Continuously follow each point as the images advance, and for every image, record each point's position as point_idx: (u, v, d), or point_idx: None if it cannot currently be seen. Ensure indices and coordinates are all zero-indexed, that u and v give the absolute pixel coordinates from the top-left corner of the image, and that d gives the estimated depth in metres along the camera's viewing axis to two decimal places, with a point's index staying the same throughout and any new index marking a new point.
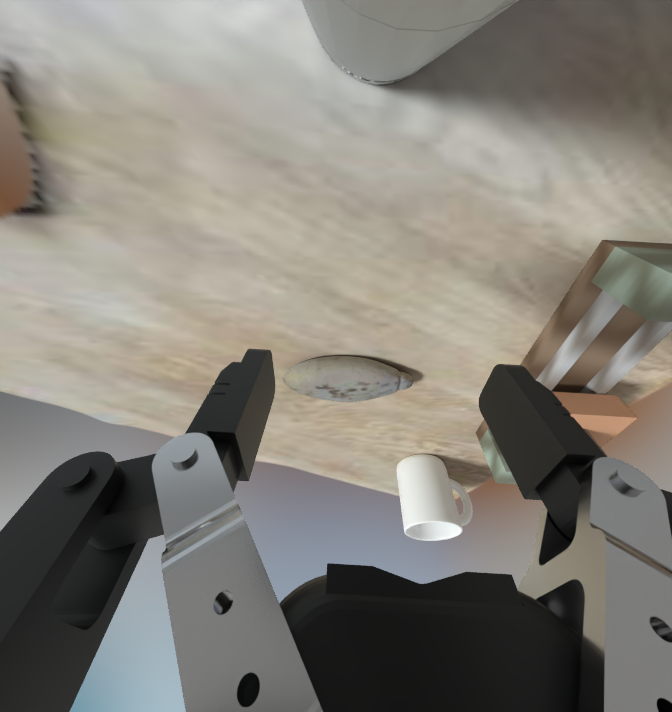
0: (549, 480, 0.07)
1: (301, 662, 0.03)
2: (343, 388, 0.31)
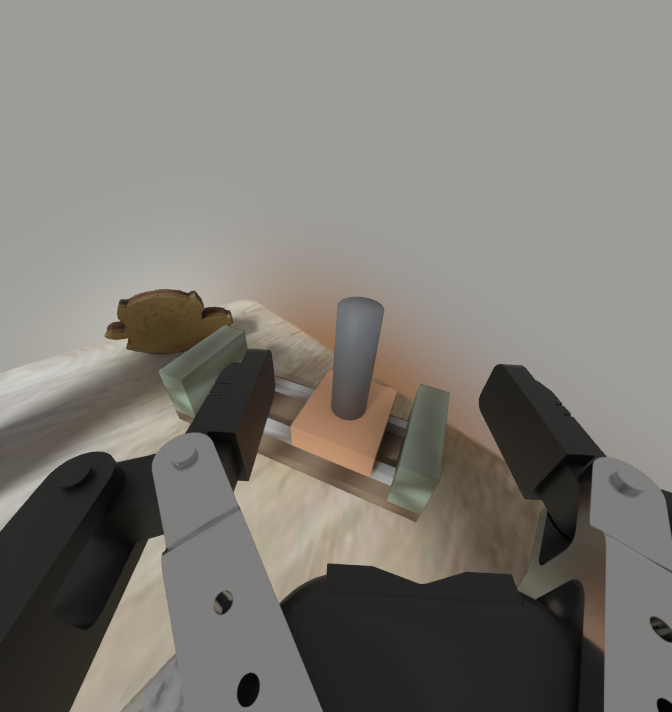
0: (549, 480, 0.07)
1: (301, 662, 0.03)
2: None
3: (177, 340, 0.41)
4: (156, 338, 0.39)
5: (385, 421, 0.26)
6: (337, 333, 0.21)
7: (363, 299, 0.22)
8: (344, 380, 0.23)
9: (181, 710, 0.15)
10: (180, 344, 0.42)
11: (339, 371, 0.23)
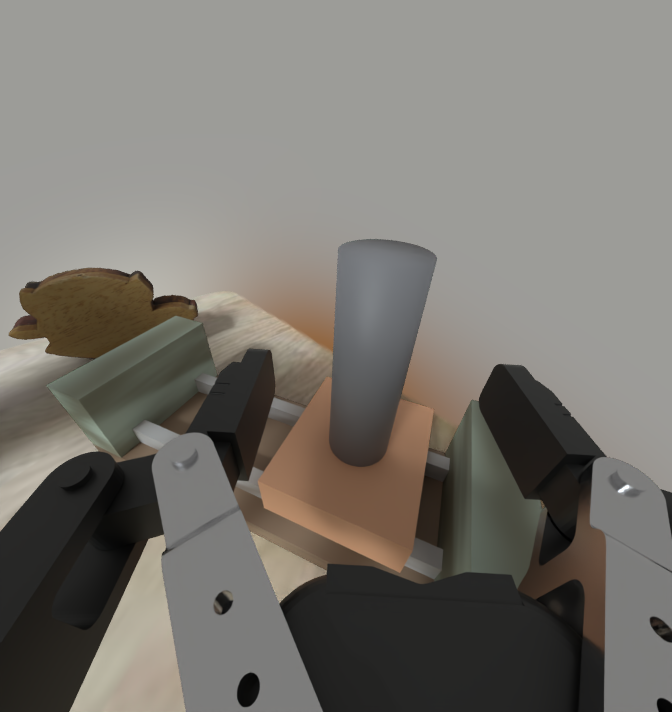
0: (549, 480, 0.07)
1: (301, 662, 0.03)
2: None
3: (120, 339, 0.30)
4: (88, 337, 0.29)
5: (422, 467, 0.15)
6: (338, 309, 0.11)
7: (388, 242, 0.11)
8: (353, 401, 0.12)
9: None
10: None
11: (343, 384, 0.12)
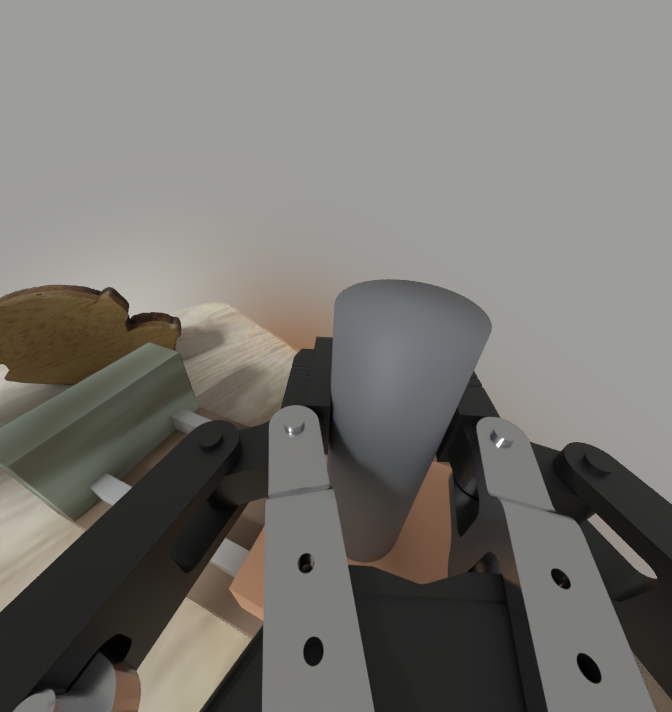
0: (453, 442, 0.08)
1: (363, 657, 0.03)
2: None
3: (92, 363, 0.27)
4: (54, 361, 0.25)
5: (446, 563, 0.12)
6: (335, 388, 0.07)
7: (409, 285, 0.07)
8: (356, 502, 0.09)
9: None
10: (98, 369, 0.27)
11: (342, 479, 0.09)
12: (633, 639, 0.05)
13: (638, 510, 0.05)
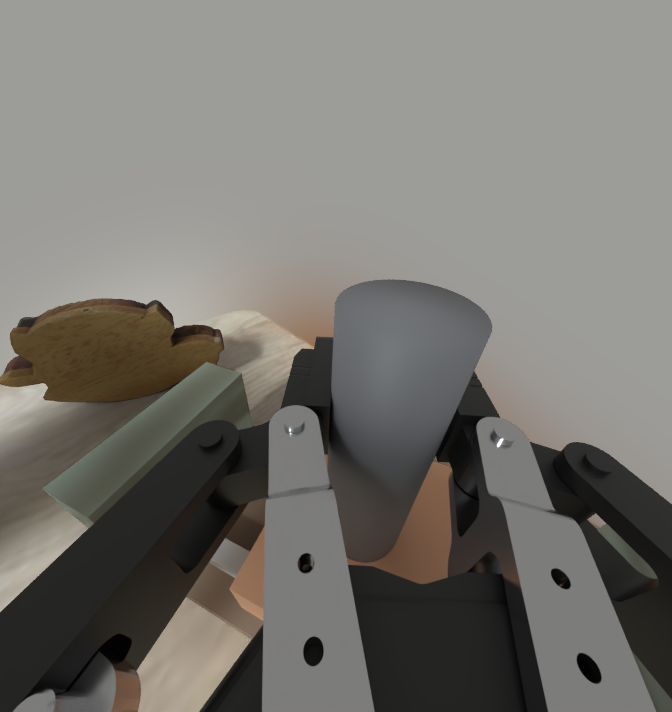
0: (453, 442, 0.08)
1: (362, 657, 0.03)
2: None
3: (133, 380, 0.25)
4: (95, 379, 0.24)
5: (446, 562, 0.12)
6: (336, 388, 0.07)
7: (410, 286, 0.07)
8: (357, 502, 0.09)
9: None
10: (139, 386, 0.26)
11: (343, 479, 0.09)
12: (633, 639, 0.05)
13: (638, 510, 0.05)
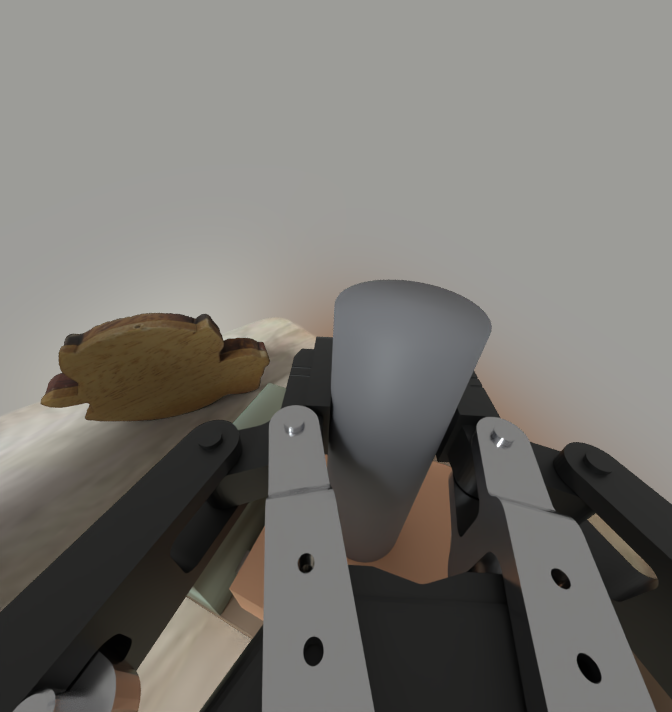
0: (453, 442, 0.08)
1: (363, 657, 0.03)
2: None
3: (177, 397, 0.24)
4: (139, 398, 0.22)
5: (445, 562, 0.12)
6: (335, 388, 0.07)
7: (410, 286, 0.07)
8: (356, 502, 0.09)
9: None
10: (182, 403, 0.24)
11: (342, 479, 0.09)
12: (633, 639, 0.05)
13: (638, 510, 0.05)
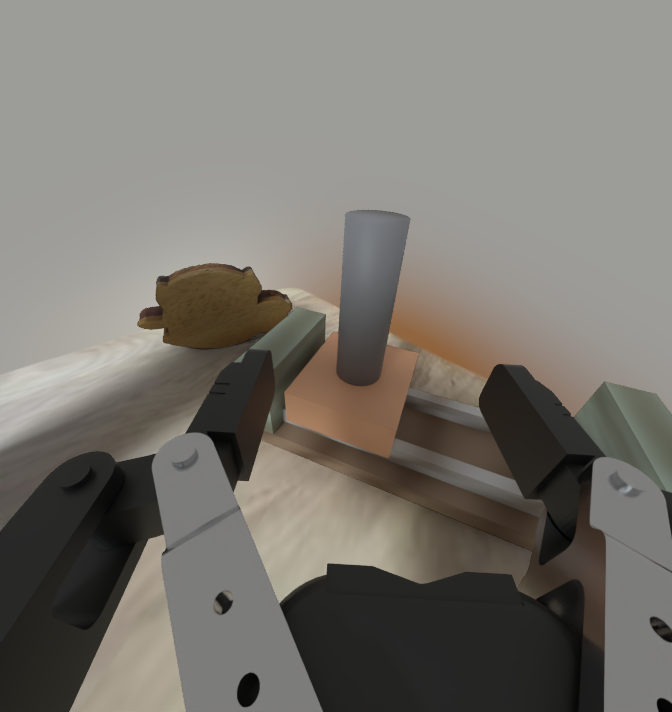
0: (549, 480, 0.07)
1: (301, 662, 0.03)
2: None
3: (225, 331, 0.32)
4: (200, 328, 0.31)
5: (406, 387, 0.20)
6: (345, 256, 0.16)
7: (379, 211, 0.16)
8: (355, 326, 0.17)
9: None
10: (228, 336, 0.33)
11: (347, 314, 0.17)
12: None
13: None
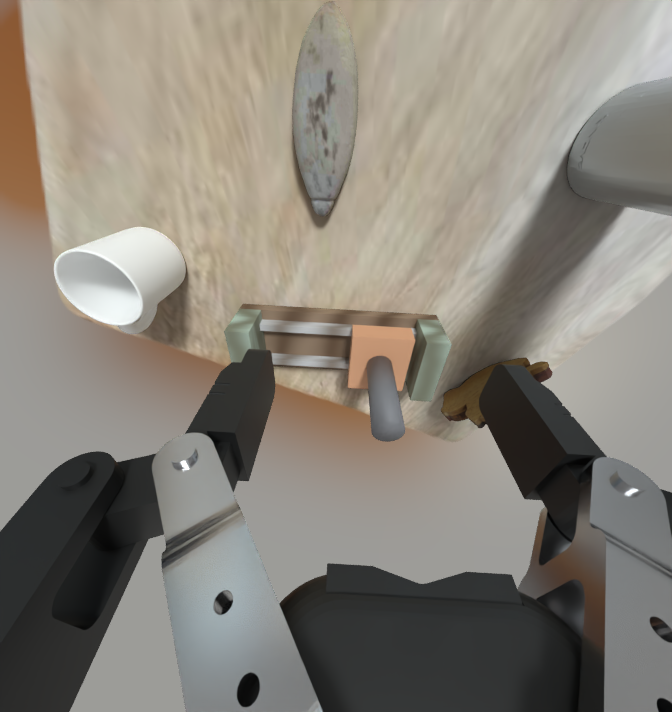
0: (549, 480, 0.07)
1: (301, 662, 0.03)
2: (327, 120, 0.25)
3: (484, 379, 0.44)
4: None
5: (351, 362, 0.38)
6: (399, 409, 0.30)
7: (388, 439, 0.30)
8: (385, 380, 0.33)
9: (315, 180, 0.28)
10: (481, 376, 0.44)
11: (391, 385, 0.32)
12: None
13: None
